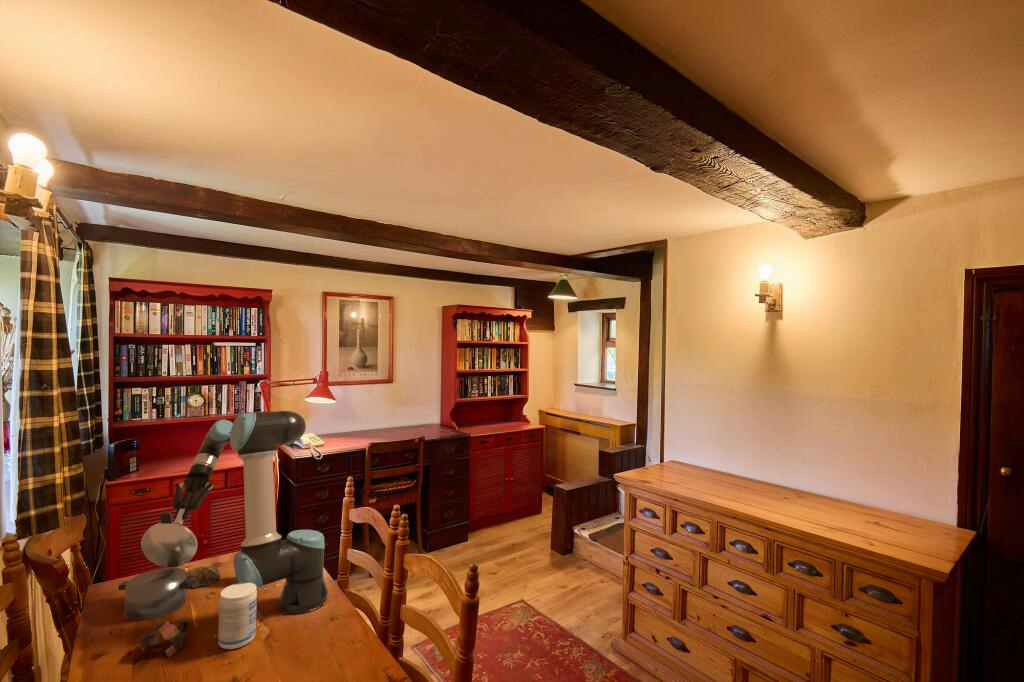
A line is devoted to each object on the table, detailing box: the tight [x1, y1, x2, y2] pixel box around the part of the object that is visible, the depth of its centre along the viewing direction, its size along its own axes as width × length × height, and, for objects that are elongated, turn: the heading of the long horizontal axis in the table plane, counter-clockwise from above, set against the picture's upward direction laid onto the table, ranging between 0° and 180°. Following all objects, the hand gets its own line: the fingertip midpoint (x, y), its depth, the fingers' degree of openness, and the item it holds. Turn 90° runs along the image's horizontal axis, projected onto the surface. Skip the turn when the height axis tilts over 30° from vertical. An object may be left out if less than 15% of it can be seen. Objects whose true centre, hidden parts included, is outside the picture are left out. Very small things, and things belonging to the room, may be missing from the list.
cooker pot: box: [117, 567, 194, 622], centre depth 156 cm, size 17×21×9 cm
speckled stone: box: [186, 565, 222, 590], centre depth 174 cm, size 13×12×5 cm
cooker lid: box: [140, 512, 198, 568], centre depth 162 cm, size 20×17×1 cm
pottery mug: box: [138, 618, 191, 658], centre depth 135 cm, size 12×10×8 cm
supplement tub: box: [217, 582, 258, 650], centre depth 139 cm, size 10×10×15 cm
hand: (175, 528), depth 166 cm, fingers closed
